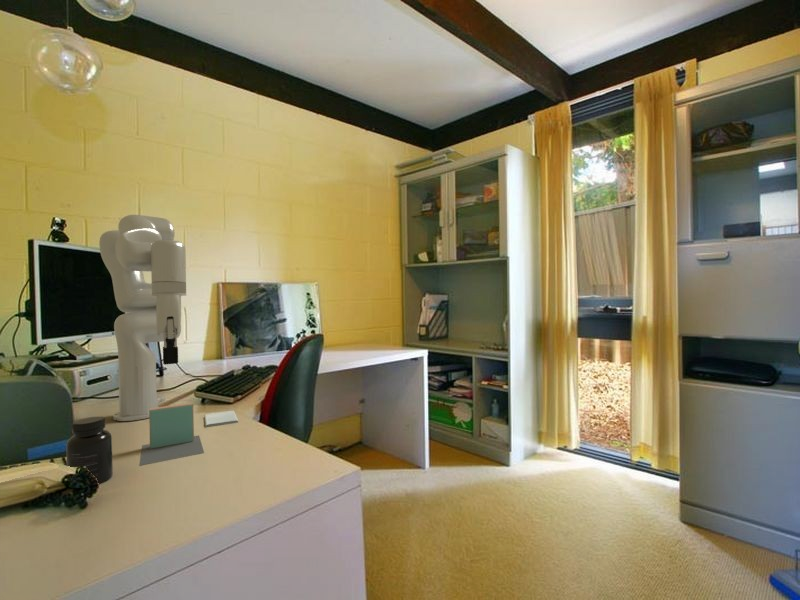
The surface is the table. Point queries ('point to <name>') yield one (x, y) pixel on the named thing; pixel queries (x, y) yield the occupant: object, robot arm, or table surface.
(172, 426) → the tile
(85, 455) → the supplement bottle
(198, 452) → the mat
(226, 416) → the hard drive
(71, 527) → the table surface
